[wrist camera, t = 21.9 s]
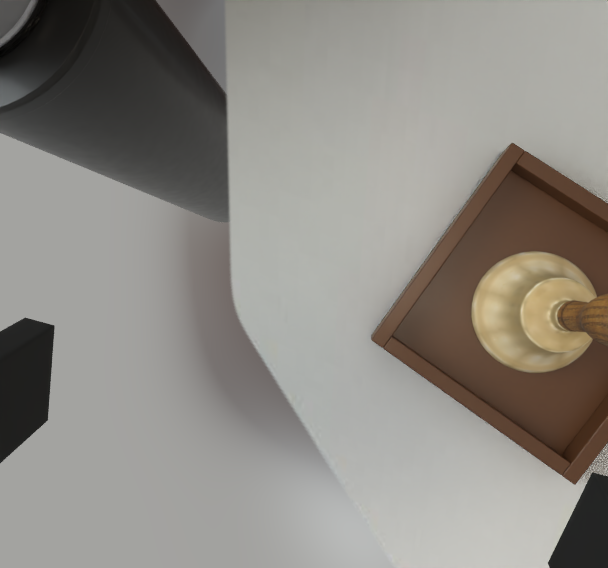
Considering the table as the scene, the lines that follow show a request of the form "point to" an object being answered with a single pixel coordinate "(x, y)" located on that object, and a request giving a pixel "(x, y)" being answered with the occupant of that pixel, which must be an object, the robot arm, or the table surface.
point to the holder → (458, 322)
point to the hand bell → (538, 312)
